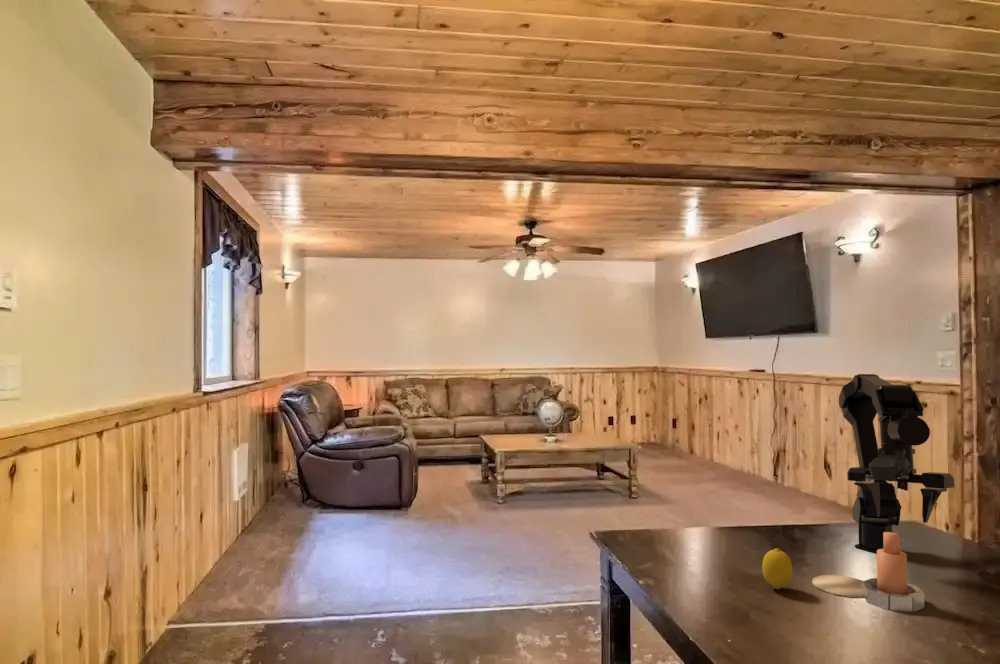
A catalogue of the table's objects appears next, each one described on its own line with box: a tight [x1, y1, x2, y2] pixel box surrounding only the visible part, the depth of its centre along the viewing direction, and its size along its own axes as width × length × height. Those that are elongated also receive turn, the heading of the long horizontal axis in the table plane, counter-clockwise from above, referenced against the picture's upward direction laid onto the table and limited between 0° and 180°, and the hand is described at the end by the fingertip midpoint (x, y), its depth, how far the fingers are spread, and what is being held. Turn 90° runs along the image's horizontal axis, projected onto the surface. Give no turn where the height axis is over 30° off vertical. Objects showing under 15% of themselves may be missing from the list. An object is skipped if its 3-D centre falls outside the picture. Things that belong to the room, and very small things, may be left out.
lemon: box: [761, 547, 794, 590], centre depth 129 cm, size 6×6×8 cm
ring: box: [862, 577, 926, 613], centre depth 122 cm, size 9×9×2 cm
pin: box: [876, 531, 908, 595], centre depth 122 cm, size 5×5×12 cm
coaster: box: [811, 574, 864, 598], centre depth 130 cm, size 11×11×1 cm
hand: (900, 519), depth 137 cm, fingers open, 9 cm apart
